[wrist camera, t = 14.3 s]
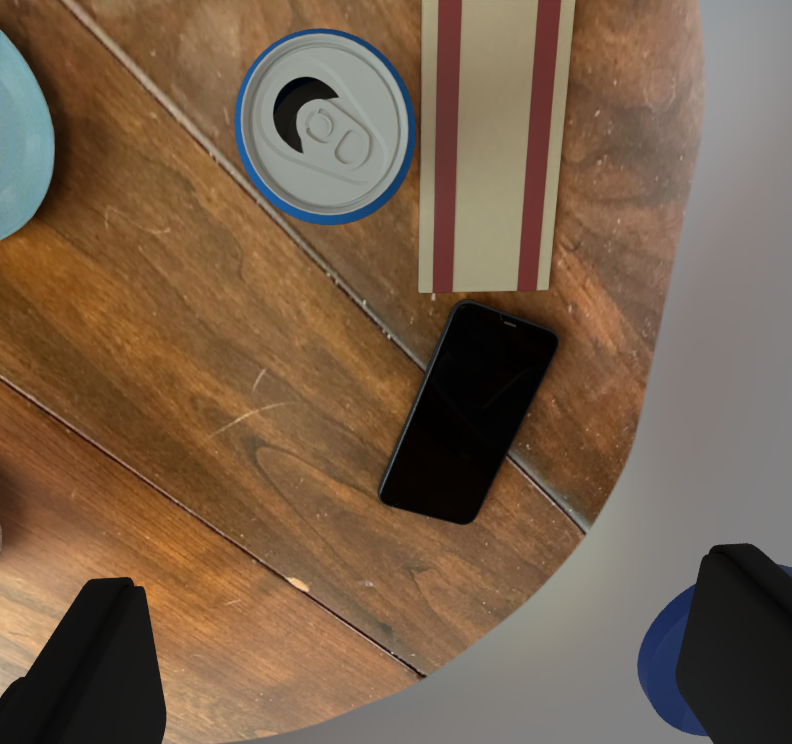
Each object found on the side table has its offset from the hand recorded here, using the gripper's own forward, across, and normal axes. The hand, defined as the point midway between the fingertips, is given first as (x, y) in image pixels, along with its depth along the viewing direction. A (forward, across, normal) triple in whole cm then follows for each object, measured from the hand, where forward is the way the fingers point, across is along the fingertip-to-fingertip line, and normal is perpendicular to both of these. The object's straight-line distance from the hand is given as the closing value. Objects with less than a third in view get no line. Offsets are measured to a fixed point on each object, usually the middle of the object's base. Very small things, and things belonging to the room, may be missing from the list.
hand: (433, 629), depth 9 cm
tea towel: (+25, -7, -11) cm, 28 cm away
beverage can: (+25, +2, -9) cm, 27 cm away
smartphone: (+25, -6, +7) cm, 27 cm away
